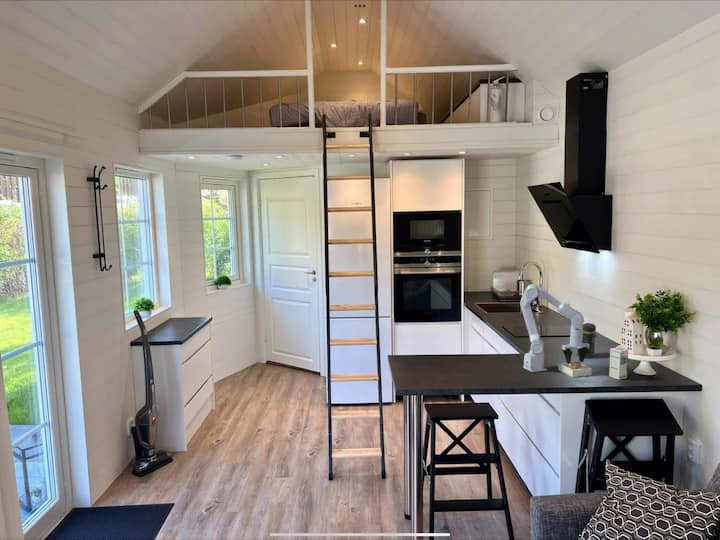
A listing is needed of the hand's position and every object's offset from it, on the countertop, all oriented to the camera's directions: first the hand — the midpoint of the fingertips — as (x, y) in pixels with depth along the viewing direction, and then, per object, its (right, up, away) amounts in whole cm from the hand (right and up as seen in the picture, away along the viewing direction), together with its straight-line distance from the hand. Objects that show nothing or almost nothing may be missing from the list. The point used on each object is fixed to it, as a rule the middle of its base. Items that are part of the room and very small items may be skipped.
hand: (574, 362), depth 253 cm
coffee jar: (+18, -2, +29) cm, 34 cm away
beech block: (0, -5, 0) cm, 5 cm away
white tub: (0, -5, +1) cm, 5 cm away
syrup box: (+18, -6, -6) cm, 21 cm away
